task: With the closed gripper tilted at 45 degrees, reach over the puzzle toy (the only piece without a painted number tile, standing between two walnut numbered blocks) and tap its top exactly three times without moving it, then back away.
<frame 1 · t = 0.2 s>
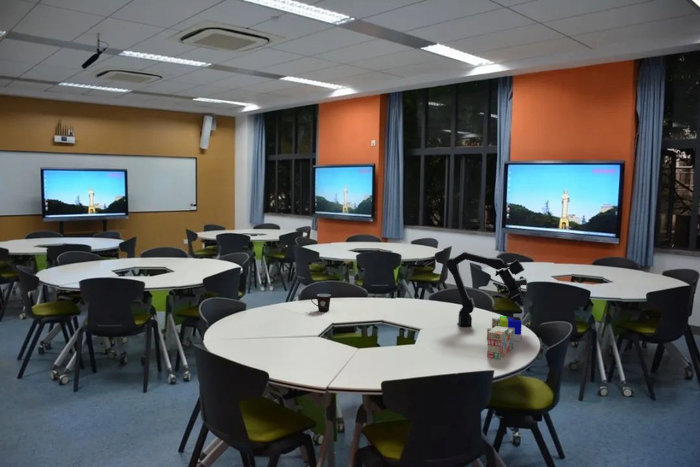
hand: (523, 303, 286), 15 cm above the table, tool tilted 35°, fingers open, 9 cm apart
numbered block 2: (493, 340, 269), on the table
numbered block 1: (498, 329, 289), on the table
puzzle toy: (509, 338, 275), on the table
coffee mug: (321, 310, 328), on the table
stack of blocks: (500, 353, 250), on the table
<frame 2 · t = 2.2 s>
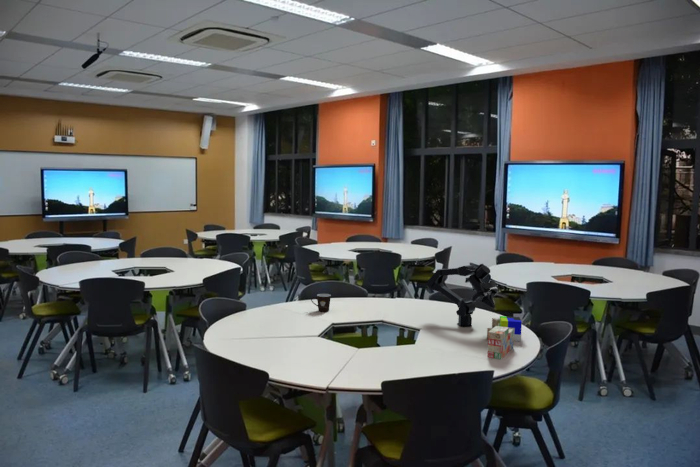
hand: (494, 307, 283), 14 cm above the table, tool tilted 45°, fingers closed
nothing on the table moved.
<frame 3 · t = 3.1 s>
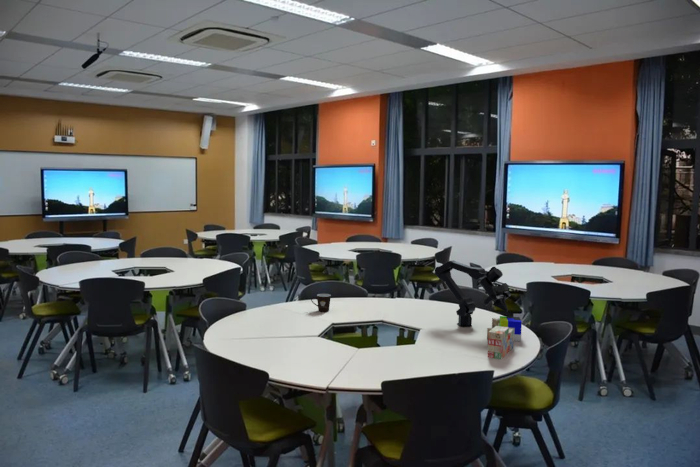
hand: (507, 311, 277), 13 cm above the table, tool tilted 45°, fingers closed
nothing on the table moved.
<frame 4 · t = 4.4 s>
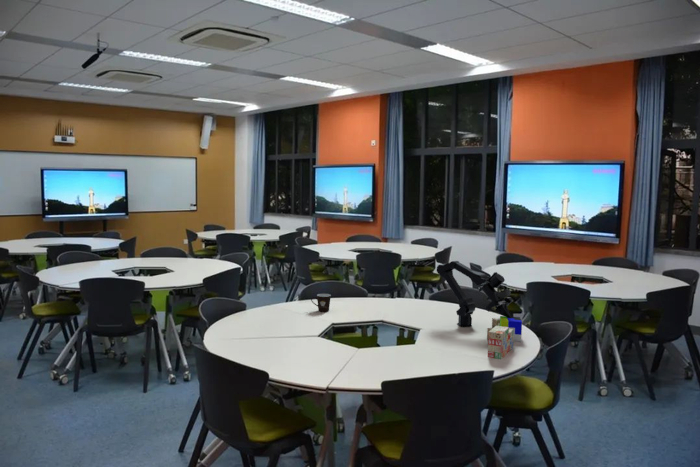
hand: (509, 317, 276), 10 cm above the table, tool tilted 45°, fingers closed, pressing on puzzle toy
puzzle toy: (510, 338, 274), on the table, touching gripper
everything else where it was.
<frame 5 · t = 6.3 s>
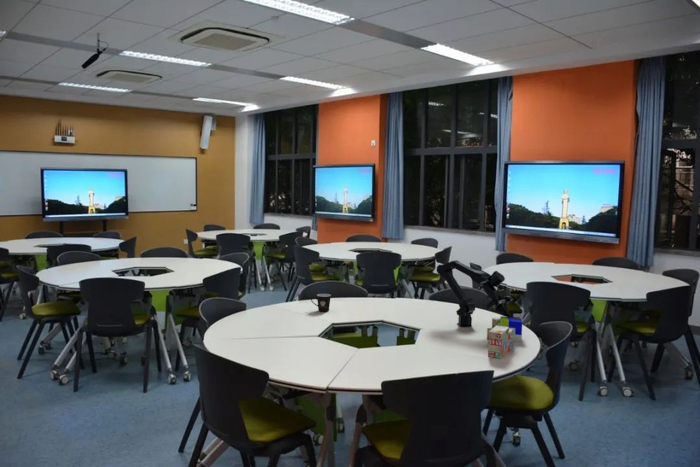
hand: (509, 315, 276), 11 cm above the table, tool tilted 45°, fingers closed
puzzle toy: (510, 338, 274), on the table
everything else where it was.
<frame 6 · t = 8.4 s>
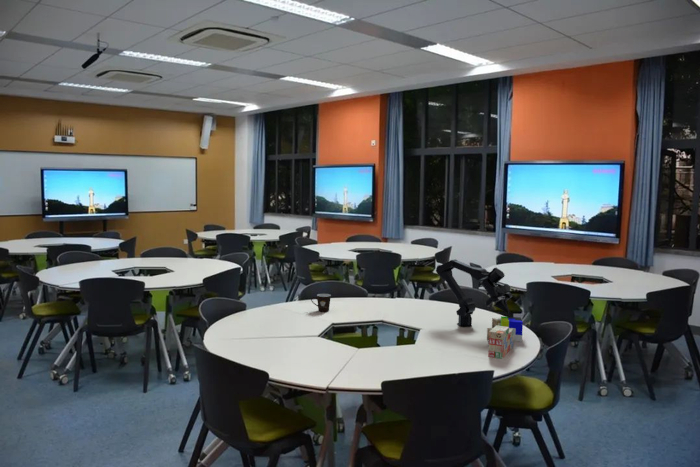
hand: (508, 312, 276), 13 cm above the table, tool tilted 45°, fingers closed
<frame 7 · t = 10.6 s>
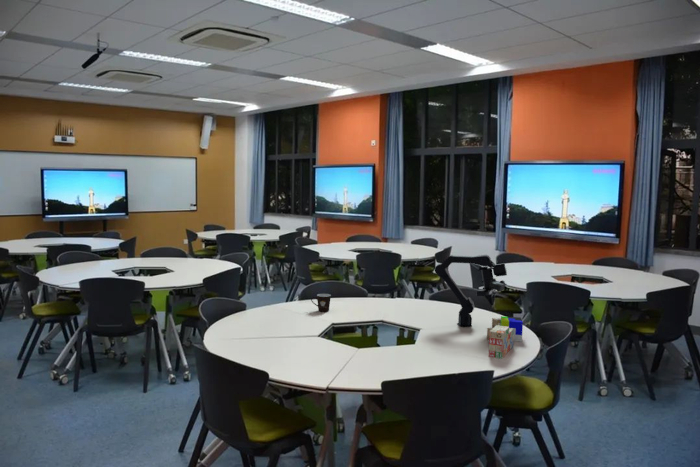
hand: (492, 305, 291), 13 cm above the table, tool pointing down, fingers closed
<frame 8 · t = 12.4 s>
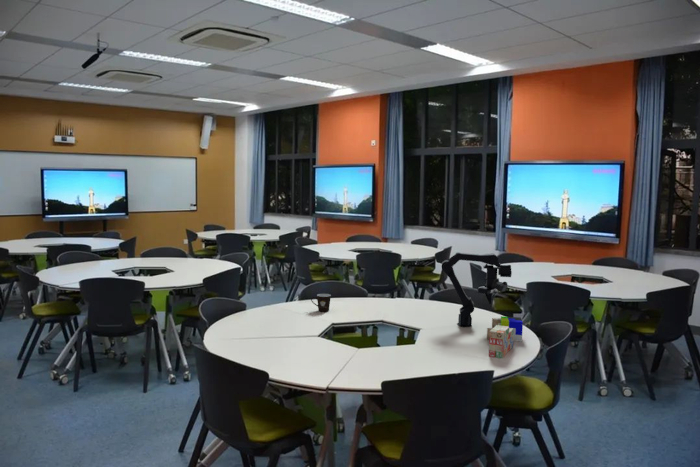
hand: (490, 304, 294), 13 cm above the table, tool pointing down, fingers closed
at the end: puzzle toy moved 0.8 cm from its start; puzzle toy tilted 0°; numbered block 1 moved 0.1 cm from its start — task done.
